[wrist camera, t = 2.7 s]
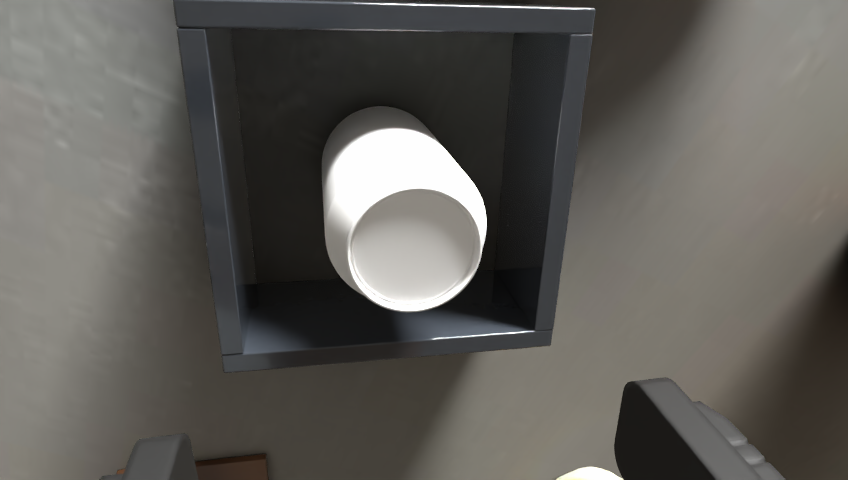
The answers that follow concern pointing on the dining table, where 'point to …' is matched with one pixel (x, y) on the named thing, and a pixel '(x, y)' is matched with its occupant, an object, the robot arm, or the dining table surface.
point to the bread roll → (589, 474)
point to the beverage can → (399, 211)
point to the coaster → (231, 468)
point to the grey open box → (334, 299)
